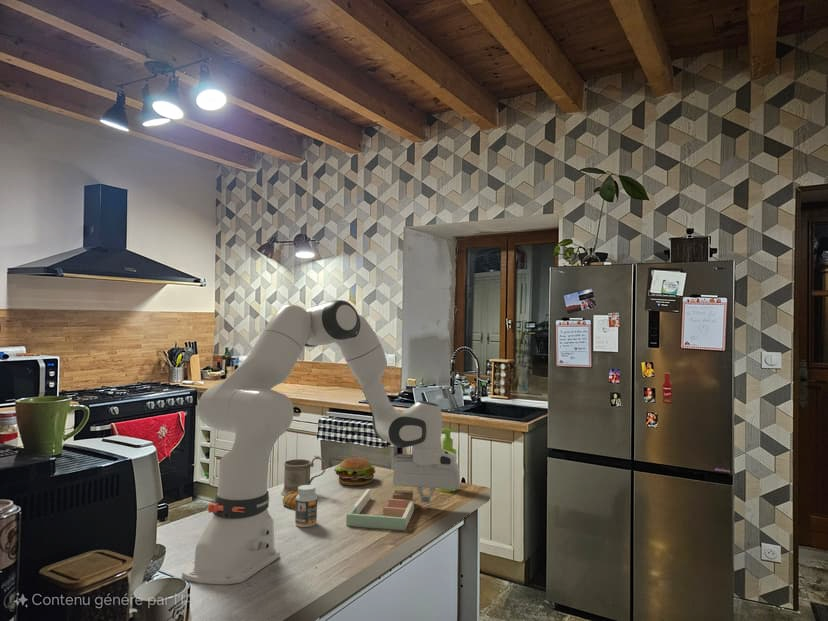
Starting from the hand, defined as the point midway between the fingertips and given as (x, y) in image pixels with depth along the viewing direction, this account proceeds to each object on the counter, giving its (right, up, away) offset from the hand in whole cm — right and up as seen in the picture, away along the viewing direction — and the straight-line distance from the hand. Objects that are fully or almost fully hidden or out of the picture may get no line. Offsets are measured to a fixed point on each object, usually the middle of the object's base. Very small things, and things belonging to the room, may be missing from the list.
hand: (425, 501), depth 167 cm
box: (-12, -1, -6) cm, 14 cm away
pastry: (-38, -1, -1) cm, 38 cm away
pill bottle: (-33, -1, -16) cm, 37 cm away
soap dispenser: (+7, -2, +18) cm, 20 cm away
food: (-24, -2, +26) cm, 36 cm away
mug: (-39, -1, +11) cm, 40 cm away
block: (-7, -2, +1) cm, 7 cm away
